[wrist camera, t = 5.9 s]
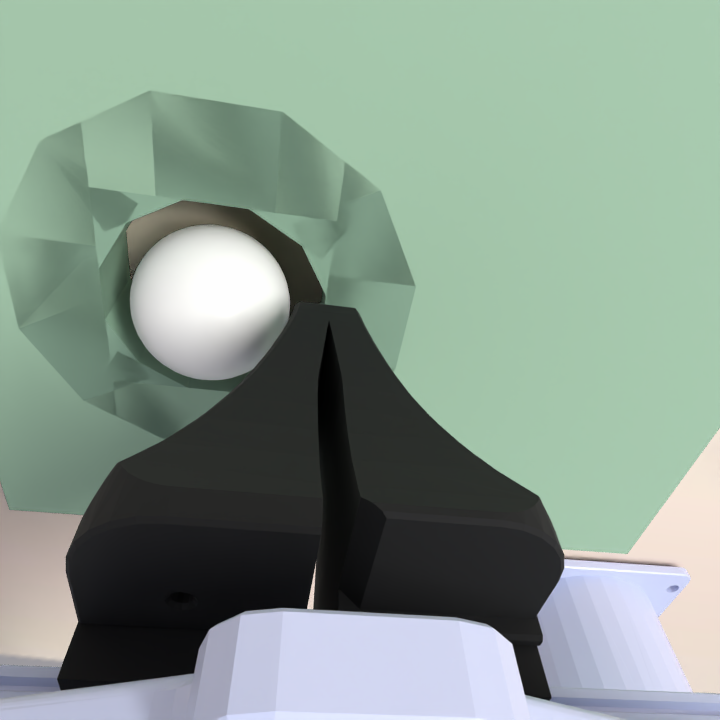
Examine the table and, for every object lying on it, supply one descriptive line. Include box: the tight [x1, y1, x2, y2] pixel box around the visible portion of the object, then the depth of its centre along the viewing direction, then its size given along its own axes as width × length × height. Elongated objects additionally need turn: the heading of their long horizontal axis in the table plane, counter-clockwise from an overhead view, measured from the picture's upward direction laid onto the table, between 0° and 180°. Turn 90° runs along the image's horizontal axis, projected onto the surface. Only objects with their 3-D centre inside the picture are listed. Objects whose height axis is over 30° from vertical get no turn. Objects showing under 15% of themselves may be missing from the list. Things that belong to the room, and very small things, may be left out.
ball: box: [130, 224, 290, 380], centre depth 13 cm, size 4×4×4 cm
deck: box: [0, 0, 720, 554], centre depth 14 cm, size 18×20×2 cm
